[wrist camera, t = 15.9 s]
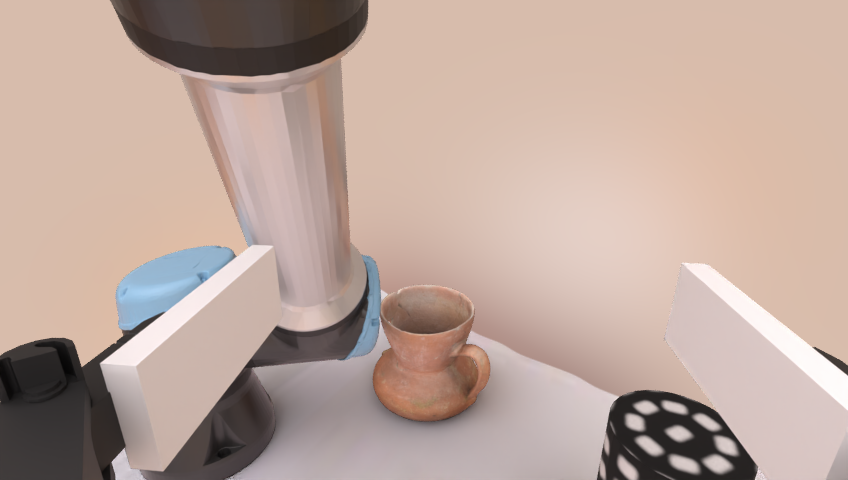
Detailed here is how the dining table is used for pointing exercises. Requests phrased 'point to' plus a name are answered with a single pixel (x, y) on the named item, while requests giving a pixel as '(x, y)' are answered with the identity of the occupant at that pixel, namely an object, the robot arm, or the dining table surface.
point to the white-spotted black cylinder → (670, 441)
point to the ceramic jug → (429, 354)
